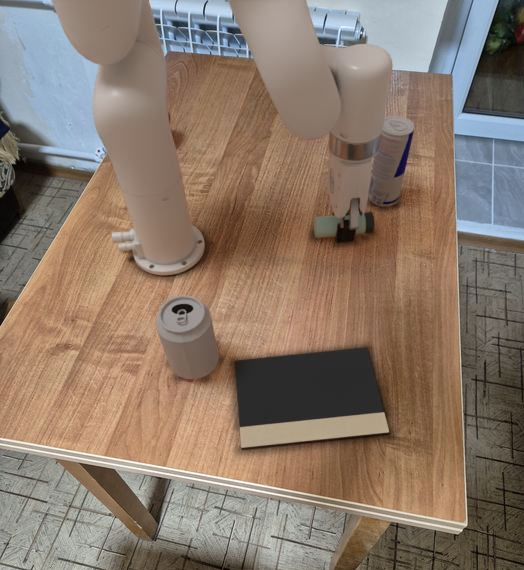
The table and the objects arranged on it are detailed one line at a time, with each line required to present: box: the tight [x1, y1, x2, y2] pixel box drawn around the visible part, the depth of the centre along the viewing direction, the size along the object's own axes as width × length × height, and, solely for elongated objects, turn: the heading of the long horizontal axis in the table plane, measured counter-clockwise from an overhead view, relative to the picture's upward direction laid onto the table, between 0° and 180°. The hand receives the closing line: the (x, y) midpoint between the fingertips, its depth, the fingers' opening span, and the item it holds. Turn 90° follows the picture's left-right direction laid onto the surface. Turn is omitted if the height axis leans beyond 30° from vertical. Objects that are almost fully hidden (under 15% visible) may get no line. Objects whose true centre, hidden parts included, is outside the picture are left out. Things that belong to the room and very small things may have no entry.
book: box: [234, 346, 390, 450], centre depth 73 cm, size 20×14×1 cm
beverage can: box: [368, 115, 415, 208], centre depth 89 cm, size 6×6×15 cm
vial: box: [313, 211, 375, 239], centre depth 89 cm, size 10×4×4 cm, turn 95°
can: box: [155, 294, 220, 380], centre depth 72 cm, size 8×8×12 cm
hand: (342, 231), depth 91 cm, fingers closed on vial, 3 cm apart
